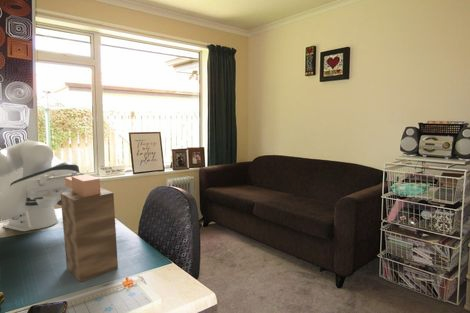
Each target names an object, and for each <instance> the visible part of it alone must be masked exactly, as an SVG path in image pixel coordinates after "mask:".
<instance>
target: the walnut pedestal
mask: <svg viewBox="0 0 470 313" xmlns="http://www.w3.org/2000/svg"><path fill="white" fill-rule="evenodd" d="M100 192H101V194H98V195H93V196H87V197H83V196H81V195H79V194H77V193H75V192H73V191H70V192H64V193H60V194H61V205H60V206H61V214H62V215H61V216H62V226H63V227H62V228H63V236H64V237H63V239H64V251H65V261H66V269H67V271H68V272H70V274H72V276H73V277H75V279H77V280H78V281H79V283H83V282H84V281H88V280H90V279H93V278H95V277H98V276H100V275H103V274H106V273H108V272H111V271H114V270H116V269H118V268H119V264H118V262H119V261H118V249H117V233H116V232H117V231H116V228H117V227H116V216H115V215H116V214H115V197H114V195H115V194H114V192H113V191H110V190H107V189H105V188H102V187H100Z"/></svg>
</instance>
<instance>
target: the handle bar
mask: <svg viewBox="0 0 470 313" xmlns="http://www.w3.org/2000/svg"><path fill="white" fill-rule="evenodd" d="M100 181H101V178H99V177H96V176H93V175H90V174H85V175H79V176H72V177H66V178H65V186H67V187H69V188H71V189H72V190H73V192H75V193H77V194H79V195H81V196H83V197H87V196H93V195H98V194H101V192H100V188H101V182H100Z"/></svg>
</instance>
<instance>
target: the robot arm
mask: <svg viewBox="0 0 470 313" xmlns="http://www.w3.org/2000/svg"><path fill="white" fill-rule="evenodd" d="M53 160H54V152H53V149H52V148H51V147H50V146H49V145H48V144H47V143H44V142H42V141H35V140H31V139H29V140H24V141H20V142H17V143H15V144H12V145H9V146H7V147H5V148H3V149H0V179H2V178H4V177H7V176H10V175H12V174H13V173H15V172H17V171H19V170H21V169H22V177H21V178H19V179H16V180H14V181H12V182H11V183H10V185H9V187H7V188H6V189H4V190H2V191H0V222H2V221H3V222H4V221H7V220H8V221H7V222H5V223H3V225H2V227H3V228H6V229H11V230H15V231H18V232H19V231H20V232H27V231H32V230H38V229H43V228H47V227H51V226H53V225H56V224H57V223H58V222H59V220H58V217H57V214H56V210H55V207H54V206H56V205H57V206H61V194H60V193H64V192H70V191H73V190H72V189H71V188H69V187H67V186H65V178H66V177H72V176H79V175H86V174H85V173H84V172H80V167H79V166H78V165H77V164H76V163H74V162H71V161H66V162H62V163H59V164H56V165H54V166H52V162H53Z"/></svg>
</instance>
